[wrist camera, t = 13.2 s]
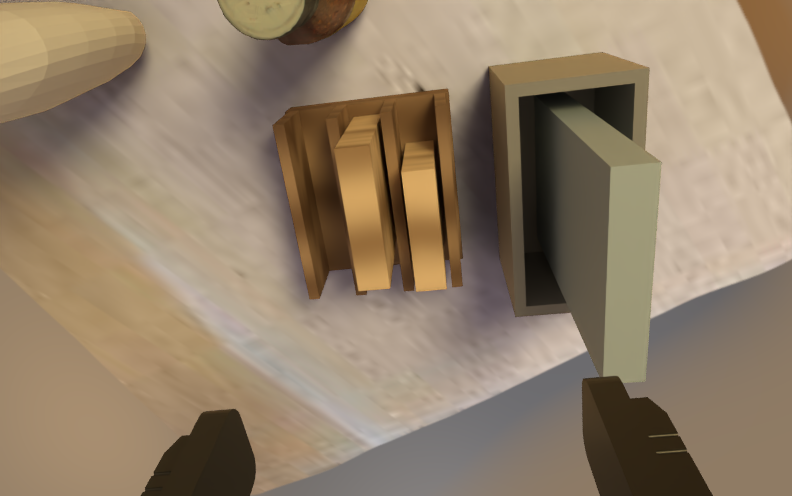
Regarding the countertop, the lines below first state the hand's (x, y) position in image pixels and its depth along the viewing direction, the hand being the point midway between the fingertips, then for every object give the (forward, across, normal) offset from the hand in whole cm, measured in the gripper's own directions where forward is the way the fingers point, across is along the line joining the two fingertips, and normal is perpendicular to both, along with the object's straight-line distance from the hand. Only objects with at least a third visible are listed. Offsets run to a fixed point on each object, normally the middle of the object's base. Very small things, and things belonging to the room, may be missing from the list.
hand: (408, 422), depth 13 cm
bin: (+36, -10, +6) cm, 37 cm away
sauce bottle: (+36, +5, -10) cm, 38 cm away
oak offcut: (+34, +4, +5) cm, 34 cm away
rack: (+36, +4, +6) cm, 36 cm away
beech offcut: (+34, 0, +7) cm, 34 cm away
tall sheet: (+35, -10, +6) cm, 36 cm away
